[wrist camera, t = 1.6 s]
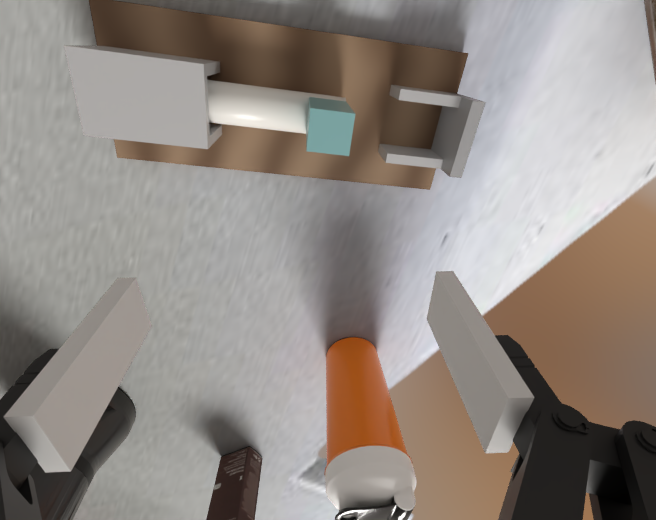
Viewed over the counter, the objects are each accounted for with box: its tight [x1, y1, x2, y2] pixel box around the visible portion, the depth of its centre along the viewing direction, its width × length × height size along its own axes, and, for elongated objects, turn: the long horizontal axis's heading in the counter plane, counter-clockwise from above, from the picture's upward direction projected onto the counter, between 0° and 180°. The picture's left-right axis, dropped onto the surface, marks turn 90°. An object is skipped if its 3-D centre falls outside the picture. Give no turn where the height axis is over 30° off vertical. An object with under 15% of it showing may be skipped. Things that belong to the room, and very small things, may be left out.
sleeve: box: [64, 45, 222, 149], centre depth 28 cm, size 9×6×5 cm, turn 83°
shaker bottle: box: [325, 337, 416, 520], centre depth 40 cm, size 9×9×20 cm
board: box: [89, 0, 468, 190], centre depth 31 cm, size 30×12×1 cm, turn 83°
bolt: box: [207, 80, 355, 156], centre depth 27 cm, size 20×3×9 cm, turn 83°
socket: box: [378, 85, 486, 178], centre depth 30 cm, size 6×6×6 cm
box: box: [206, 447, 262, 520], centre depth 55 cm, size 6×4×12 cm
